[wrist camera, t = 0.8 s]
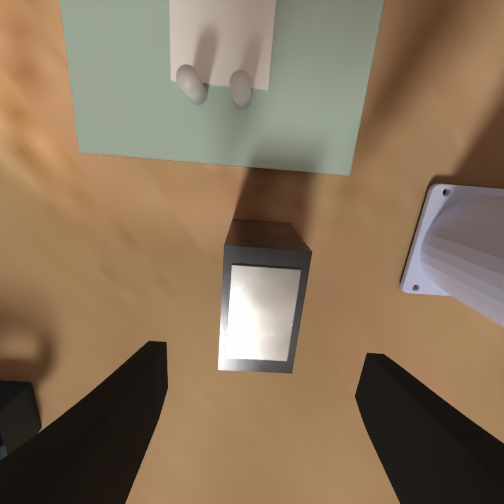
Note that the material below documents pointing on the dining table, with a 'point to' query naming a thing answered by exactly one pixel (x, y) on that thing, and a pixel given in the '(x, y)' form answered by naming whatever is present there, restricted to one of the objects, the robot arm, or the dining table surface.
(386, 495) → the dining table surface
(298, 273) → the block
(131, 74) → the pin tray
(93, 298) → the dining table surface
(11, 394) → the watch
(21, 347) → the dining table surface
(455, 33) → the dining table surface
